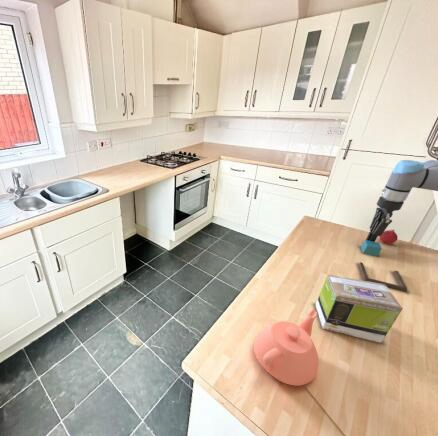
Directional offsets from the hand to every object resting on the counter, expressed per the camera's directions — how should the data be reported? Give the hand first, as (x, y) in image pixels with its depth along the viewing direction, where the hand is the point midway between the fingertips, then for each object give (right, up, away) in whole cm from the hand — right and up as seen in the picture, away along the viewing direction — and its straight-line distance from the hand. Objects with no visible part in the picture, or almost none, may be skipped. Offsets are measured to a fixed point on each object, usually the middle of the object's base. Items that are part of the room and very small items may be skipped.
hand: (367, 245), depth 111 cm
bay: (-10, -11, -16) cm, 22 cm away
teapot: (-63, -27, -43) cm, 81 cm away
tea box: (-39, -21, -34) cm, 56 cm away
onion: (+11, 0, +4) cm, 12 cm away
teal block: (-2, -3, -2) cm, 4 cm away
